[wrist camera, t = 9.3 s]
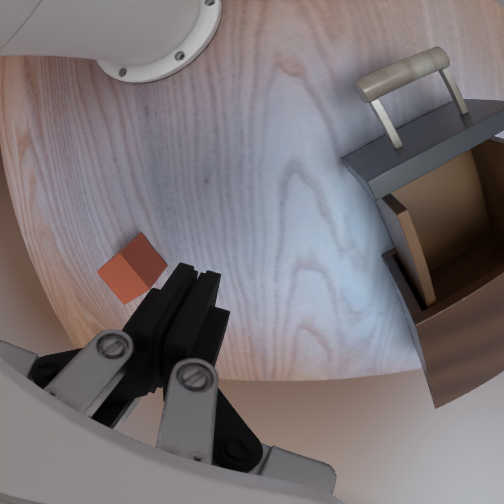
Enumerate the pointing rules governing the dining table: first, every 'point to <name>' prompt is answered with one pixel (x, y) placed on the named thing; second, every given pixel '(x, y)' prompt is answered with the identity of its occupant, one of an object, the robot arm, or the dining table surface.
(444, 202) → the drawer
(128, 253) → the block
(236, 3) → the dining table surface
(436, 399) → the cabinet
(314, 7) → the dining table surface
